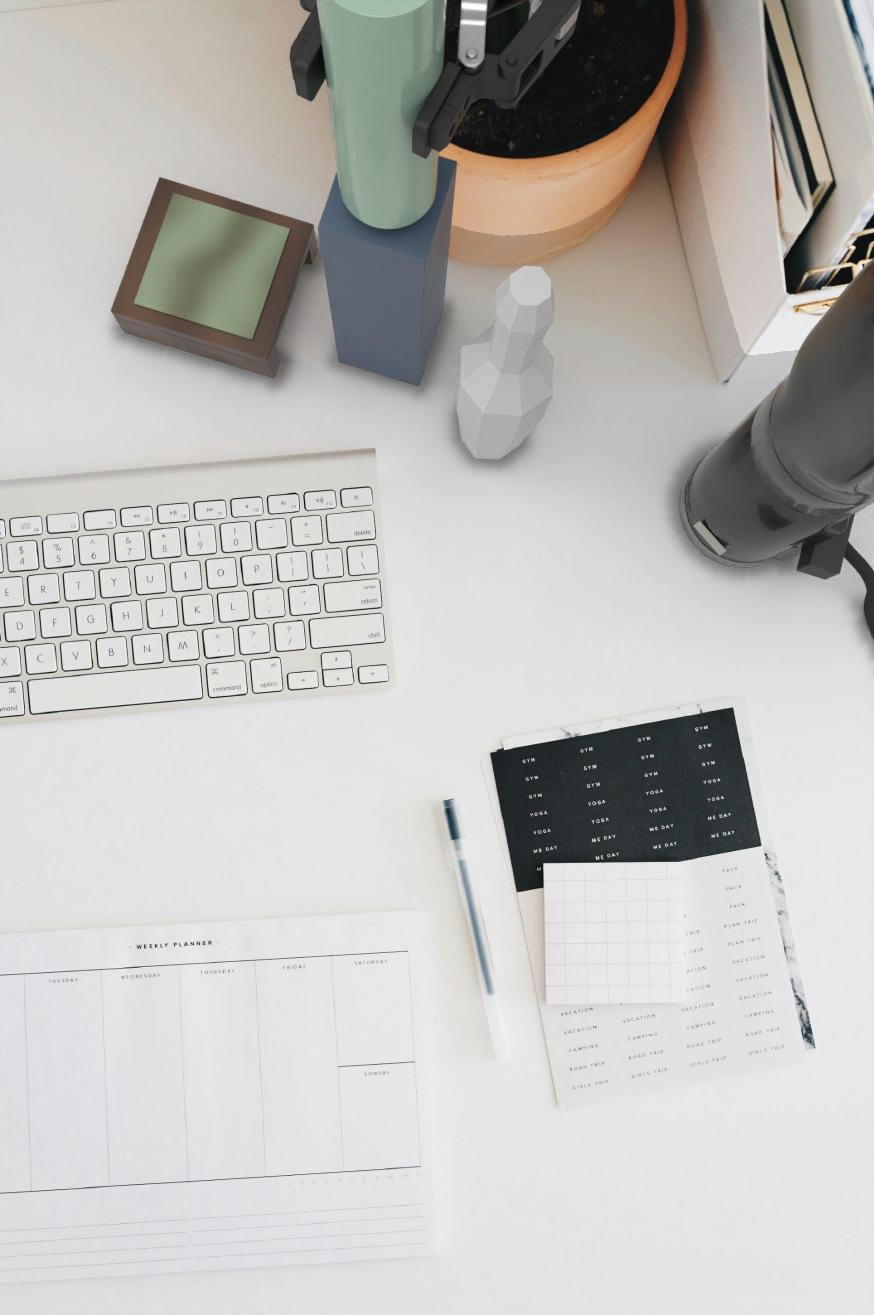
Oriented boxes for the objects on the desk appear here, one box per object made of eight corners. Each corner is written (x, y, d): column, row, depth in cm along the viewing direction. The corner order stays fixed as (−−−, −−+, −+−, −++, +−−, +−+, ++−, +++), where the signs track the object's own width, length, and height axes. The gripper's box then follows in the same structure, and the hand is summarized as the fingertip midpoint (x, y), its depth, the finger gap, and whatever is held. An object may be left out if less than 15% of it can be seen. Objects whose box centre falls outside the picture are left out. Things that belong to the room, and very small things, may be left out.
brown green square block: (318, 249, 72) (313, 222, 68) (274, 378, 70) (267, 357, 67) (170, 203, 72) (158, 174, 68) (124, 332, 70) (109, 309, 67)
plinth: (443, 309, 72) (457, 160, 54) (419, 386, 71) (425, 260, 53) (363, 285, 71) (351, 127, 54) (338, 361, 71) (317, 227, 53)
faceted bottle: (541, 458, 71) (605, 324, 49) (462, 481, 70) (491, 356, 48) (517, 382, 71) (568, 215, 49) (438, 404, 71) (455, 246, 49)
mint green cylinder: (450, 154, 53) (467, -84, 38) (419, 242, 52) (423, 34, 37) (357, 124, 53) (337, -127, 38) (325, 211, 52) (292, -9, 37)
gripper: (386, -315, 42) (208, -18, 40) (669, -178, 42) (504, 129, 40) (389, -153, 49) (239, 105, 47) (629, -35, 49) (488, 229, 47)
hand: (360, 114), depth 44 cm, fingers closed on mint green cylinder, 5 cm apart
